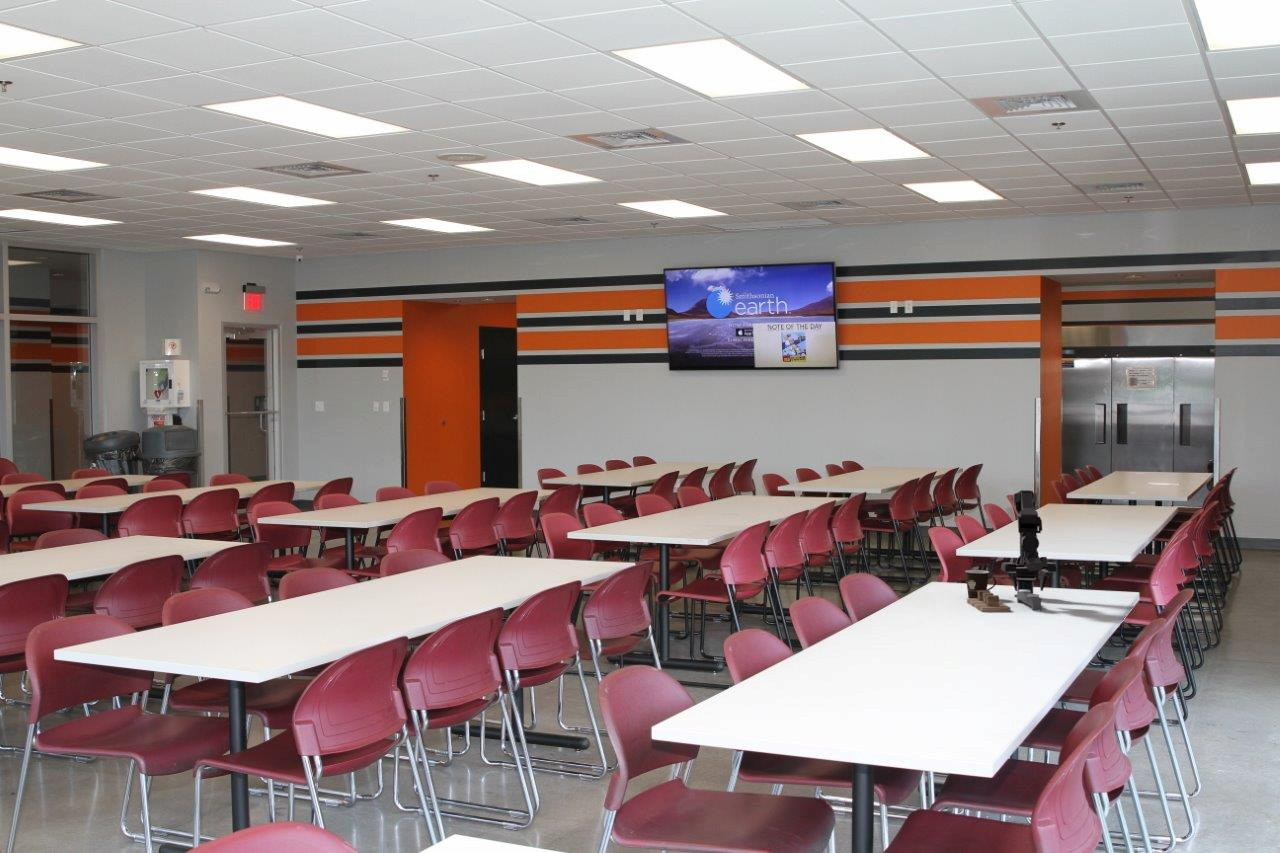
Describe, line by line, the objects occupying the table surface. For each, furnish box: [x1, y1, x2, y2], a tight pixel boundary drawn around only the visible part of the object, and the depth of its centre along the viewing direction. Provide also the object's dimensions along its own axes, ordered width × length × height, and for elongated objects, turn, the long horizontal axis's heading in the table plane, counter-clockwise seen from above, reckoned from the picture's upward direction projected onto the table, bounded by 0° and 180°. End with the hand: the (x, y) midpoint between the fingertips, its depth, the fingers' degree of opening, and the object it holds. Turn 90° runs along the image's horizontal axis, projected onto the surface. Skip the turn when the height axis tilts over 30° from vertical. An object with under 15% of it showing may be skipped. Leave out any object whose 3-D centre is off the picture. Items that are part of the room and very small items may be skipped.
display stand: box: [966, 590, 1011, 613], centre depth 440 cm, size 20×10×5 cm, turn 0°
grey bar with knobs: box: [1016, 589, 1042, 611], centre depth 441 cm, size 18×4×5 cm, turn 0°
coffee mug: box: [964, 569, 997, 599], centre depth 459 cm, size 12×9×10 cm
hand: (1028, 590), depth 441 cm, fingers open, 9 cm apart
